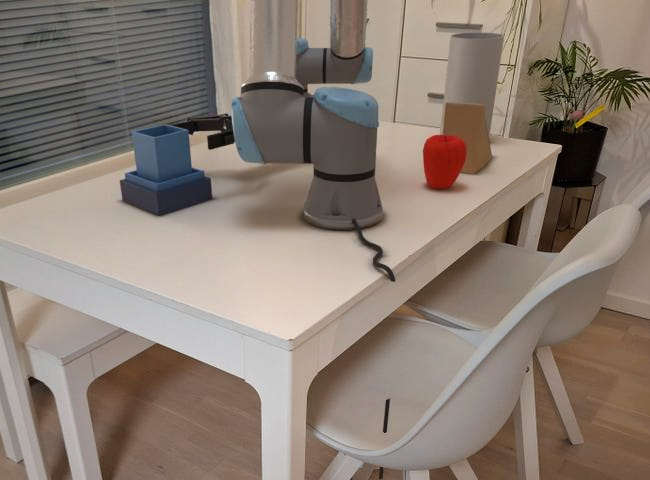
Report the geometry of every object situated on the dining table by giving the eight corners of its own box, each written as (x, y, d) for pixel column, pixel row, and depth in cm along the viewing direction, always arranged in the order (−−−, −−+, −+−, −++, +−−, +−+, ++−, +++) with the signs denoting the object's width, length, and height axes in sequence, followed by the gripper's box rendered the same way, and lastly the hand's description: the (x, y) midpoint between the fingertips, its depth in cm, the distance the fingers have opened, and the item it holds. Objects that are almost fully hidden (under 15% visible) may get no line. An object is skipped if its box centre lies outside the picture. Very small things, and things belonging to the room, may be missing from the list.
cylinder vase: (491, 147, 171) (508, 38, 157) (440, 146, 173) (453, 39, 159) (485, 134, 181) (500, 32, 168) (437, 134, 183) (448, 32, 170)
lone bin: (171, 184, 148) (165, 124, 142) (193, 192, 143) (188, 129, 136) (139, 194, 144) (131, 131, 137) (161, 202, 139) (154, 138, 132)
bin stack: (174, 185, 152) (172, 159, 149) (212, 198, 144) (210, 170, 141) (122, 200, 145) (118, 173, 141) (159, 215, 136) (155, 186, 133)
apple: (467, 183, 147) (474, 133, 141) (453, 195, 141) (460, 142, 135) (428, 178, 151) (433, 128, 145) (413, 189, 145) (418, 137, 139)
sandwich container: (493, 157, 163) (504, 91, 155) (475, 174, 152) (484, 104, 144) (458, 153, 167) (466, 89, 159) (438, 169, 156) (445, 101, 148)
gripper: (300, 145, 148) (227, 166, 136) (226, 128, 164) (155, 145, 152) (301, 109, 144) (225, 128, 132) (225, 95, 160) (151, 110, 148)
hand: (188, 137), depth 142 cm, fingers open, 13 cm apart
